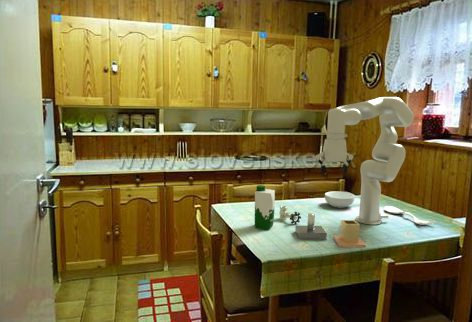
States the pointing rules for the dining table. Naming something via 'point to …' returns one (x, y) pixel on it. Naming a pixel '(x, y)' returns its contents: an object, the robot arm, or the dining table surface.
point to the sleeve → (349, 231)
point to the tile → (342, 244)
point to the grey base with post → (311, 230)
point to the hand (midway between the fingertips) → (333, 173)
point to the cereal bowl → (339, 199)
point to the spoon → (398, 211)
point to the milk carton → (264, 208)
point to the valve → (288, 215)
